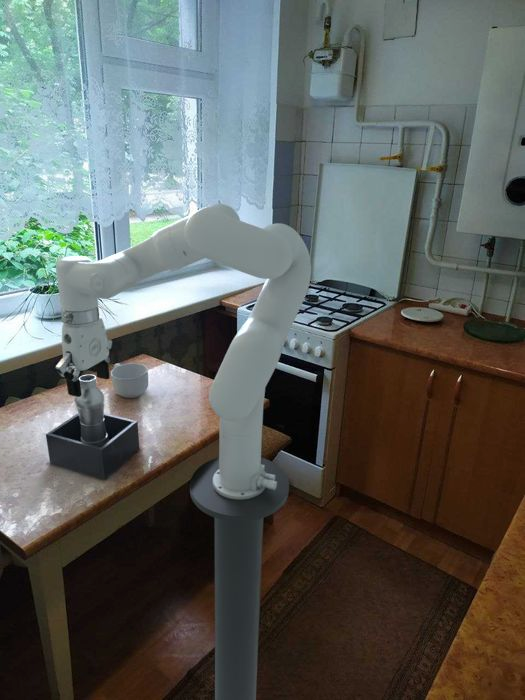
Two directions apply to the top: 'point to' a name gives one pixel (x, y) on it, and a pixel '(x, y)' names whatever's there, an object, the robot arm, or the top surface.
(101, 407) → the plastic bottle
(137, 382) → the teacup
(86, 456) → the open box
